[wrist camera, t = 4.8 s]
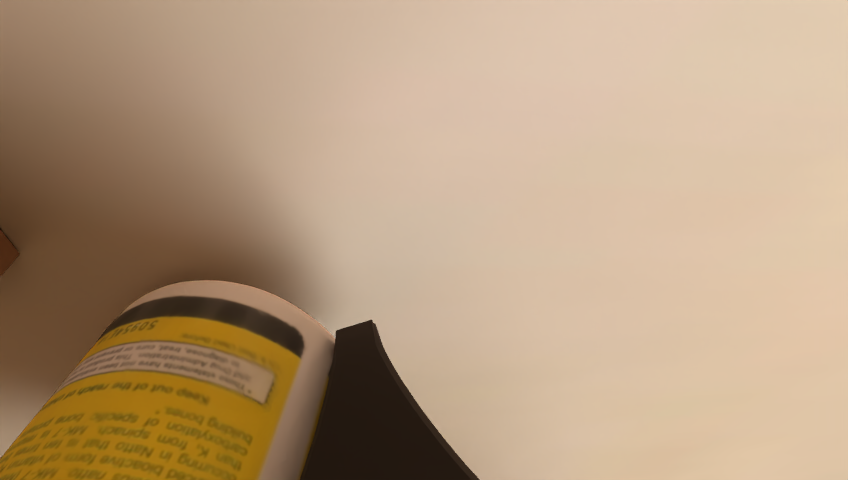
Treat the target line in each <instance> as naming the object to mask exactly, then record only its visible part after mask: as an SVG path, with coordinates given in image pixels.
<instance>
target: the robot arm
mask: <svg viewBox="0 0 848 480" xmlns="http://www.w3.org/2000/svg"><path fill="white" fill-rule="evenodd" d="M300 480H479V479H478V478H477V476H476V475H475V474H474V473H473V472H472V471H471V470H470V469H469V468H468V467H467V465H466V464H465V463H464V462H463V461H462V460H461V458H460V457H459V456H458V455H457V454H456V453H455V451H454V450H453V449H452V448H451V447H450V445H449V444H448V443H447V442H446V440H445V439H444V438H443V437H442V435H441V434H440V433H439V432H438V430H437V429H436V428H435V426H434V425H433V424H432V423H431V421H430V420H429V419H428V417H427V416H426V415H425V413H424V412H423V411H422V409H421V408H420V406H419V405H418V404H417V402H416V401H415V399H414V398H413V396H412V395H411V393H410V392H409V390H408V389H407V387H406V386H405V384H404V383H403V381H402V380H401V378H400V377H399V375H398V373H397V372H396V370H395V368H394V367H393V365H392V363H391V361H390V359H389V358H388V356H387V354H386V352H385V350H384V348H383V345H382V342H381V339H380V336H379V333H378V330H377V327H376V324H374V323H373V322H372V320H369V321H366V322H363V323H359V324H356V325H353V326H350V327H346V328H343V329H340V330H337V331H336V339H335V348H334V354H333V360H332V366H331V371H330V375H329V380H328V384H327V389H326V393H325V397H324V401H323V405H322V408H321V412H320V416H319V420H318V423H317V427H316V431H315V434H314V437H313V441H312V444H311V447H310V450H309V453H308V456H307V459H306V462H305V465H304V468H303V471H302V474H301V477H300Z"/></svg>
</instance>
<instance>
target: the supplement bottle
mask: <svg viewBox="0 0 848 480" xmlns="http://www.w3.org/2000/svg"><path fill="white" fill-rule="evenodd" d="M334 348H335V338H334V337H333V336H332V335H331V334H330V333H329V332H328V331H327V330H326V329H325V328H324V327H323V326H322V325H321V324H320V323H318V322H317V321H316V320H315V319H314V318H312V317H311V316H309V315H308V314H306V313H305V312H304V311H302V310H301V309H299V308H298V307H296V306H295V305H293V304H291V303H290V302H288V301H286V300H284V299H282V298H280V297H278V296H276V295H274V294H272V293H269V292H266V291H264V290H261V289H258V288H255V287H252V286H248V285H243V284H239V283H233V282H227V281H218V280H198V281H185V282H179V283H174V284H170V285H167V286H164V287H161V288H158V289H156V290H154V291H151V292H149V293H147V294H145V295H144V296H142V297H141V298H139V299H137V300H136V301H135V302H133V303H132V304H131V305H129V306H128V307H127V308H126V309H125V310H124V311H123V312H122V313H121V314H120V315H119V316H118V317H117V318H116V319H115V320H114V321H113V322H112V324H111V325H110V326H109V327H108V328H107V329H106V330H105V332H104V333H103V334H102V336H101V337H100V338H99V340H98V341H97V342H96V344H95V345H94V346H93V347H92V348H91V349H90V350H89V352H88V353H87V354H86V355H85V356H84V357H83V359H82V360H81V361H80V362H79V364H78V365H77V366H76V368H75V369H74V370H73V371H72V372H71V373H70V374H69V375H68V377H67V378H66V379H65V380H64V382H63V383H62V384H61V385H60V387H59V388H58V389H57V390H56V392H55V393H54V394H53V395H52V397H51V398H50V399H49V400H48V402H47V403H46V404H45V405H44V406H43V407H42V409H41V410H40V411H39V412H38V413H37V415H36V416H35V417H34V418H33V419H32V421H31V422H30V423H29V424H28V425H27V427H26V428H25V429H24V430H23V432H22V433H21V434H20V435H19V436H18V438H17V439H16V440H15V441H14V443H13V444H12V445H11V446H10V447H9V449H8V450H7V451H6V452H5V454H4V455H3V456H2V457H1V459H0V480H300V477H301V474H302V471H303V468H304V465H305V462H306V459H307V456H308V453H309V450H310V447H311V444H312V441H313V437H314V434H315V431H316V427H317V423H318V420H319V416H320V412H321V408H322V405H323V401H324V397H325V393H326V389H327V384H328V380H329V375H330V371H331V366H332V360H333V354H334Z"/></svg>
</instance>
